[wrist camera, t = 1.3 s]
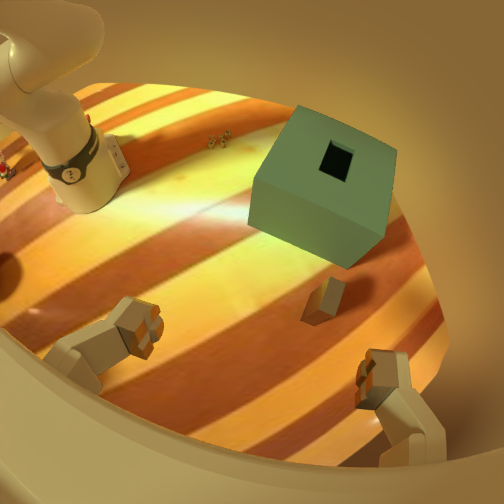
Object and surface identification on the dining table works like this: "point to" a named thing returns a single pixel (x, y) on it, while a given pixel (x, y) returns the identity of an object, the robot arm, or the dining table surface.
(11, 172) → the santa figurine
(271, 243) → the dining table surface
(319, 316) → the brown upright bar
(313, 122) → the coin box
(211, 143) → the dice set
